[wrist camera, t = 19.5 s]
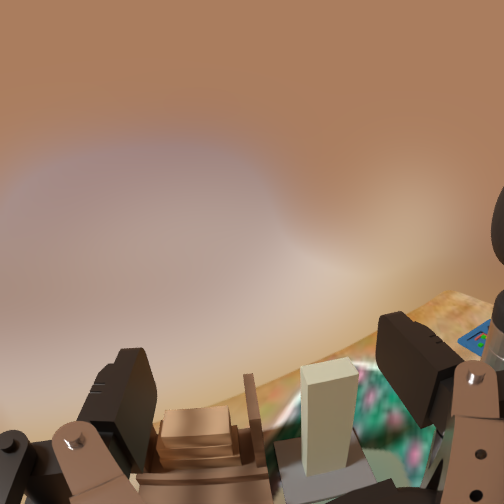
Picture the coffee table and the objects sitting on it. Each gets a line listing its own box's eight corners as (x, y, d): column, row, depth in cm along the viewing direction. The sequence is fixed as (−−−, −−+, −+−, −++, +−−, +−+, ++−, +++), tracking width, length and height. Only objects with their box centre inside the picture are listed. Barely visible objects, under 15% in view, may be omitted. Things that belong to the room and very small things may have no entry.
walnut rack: (260, 433, 41) (252, 373, 38) (277, 526, 26) (271, 479, 22) (152, 440, 40) (127, 383, 37) (138, 530, 25) (96, 481, 21)
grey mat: (350, 428, 39) (350, 425, 39) (376, 485, 29) (377, 483, 29) (273, 444, 39) (273, 441, 39) (287, 507, 28) (286, 505, 28)
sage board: (338, 451, 35) (348, 356, 31) (345, 467, 32) (358, 373, 28) (301, 459, 35) (300, 366, 30) (306, 476, 32) (307, 385, 27)
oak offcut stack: (239, 435, 39) (232, 402, 37) (242, 465, 34) (235, 434, 32) (168, 440, 39) (155, 407, 37) (164, 469, 33) (148, 438, 31)
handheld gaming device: (519, 328, 50) (486, 356, 46) (518, 333, 50) (484, 360, 46) (492, 315, 57) (456, 338, 53) (491, 319, 58) (455, 343, 54)
